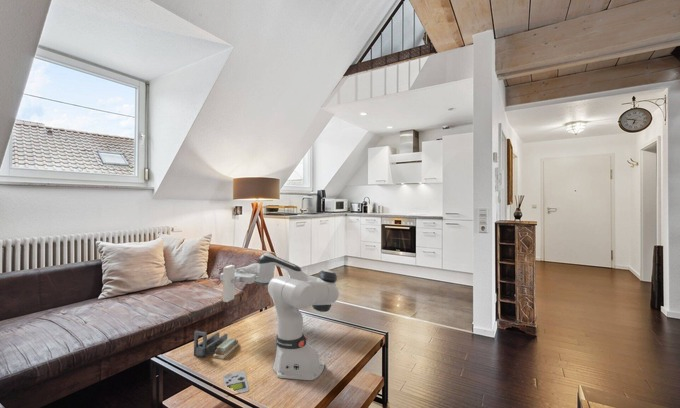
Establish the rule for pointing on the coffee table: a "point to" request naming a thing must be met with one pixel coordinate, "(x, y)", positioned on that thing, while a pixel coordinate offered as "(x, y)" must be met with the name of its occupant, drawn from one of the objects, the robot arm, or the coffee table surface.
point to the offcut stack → (225, 348)
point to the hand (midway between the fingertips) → (229, 281)
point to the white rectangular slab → (228, 283)
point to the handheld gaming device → (236, 381)
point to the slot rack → (207, 343)
